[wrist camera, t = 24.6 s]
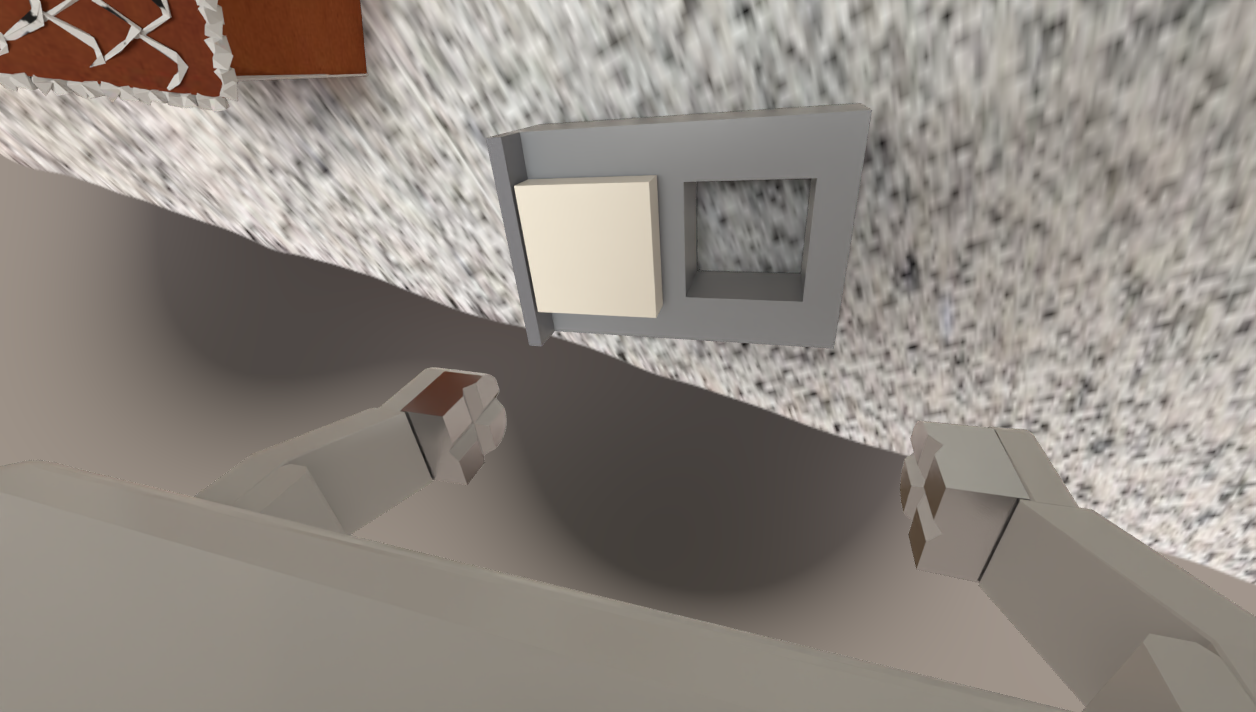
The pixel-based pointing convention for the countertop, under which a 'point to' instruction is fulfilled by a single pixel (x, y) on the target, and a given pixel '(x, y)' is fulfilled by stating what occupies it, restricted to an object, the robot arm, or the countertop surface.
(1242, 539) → the countertop surface
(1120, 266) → the countertop surface
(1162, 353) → the countertop surface
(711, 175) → the socket block
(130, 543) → the robot arm
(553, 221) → the panel
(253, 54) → the gingerbread house
